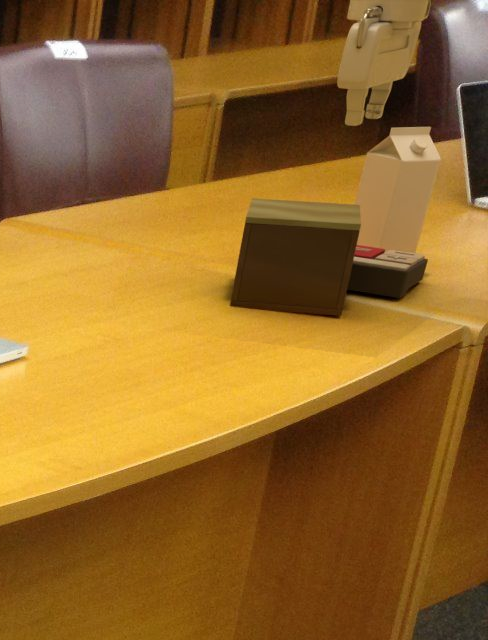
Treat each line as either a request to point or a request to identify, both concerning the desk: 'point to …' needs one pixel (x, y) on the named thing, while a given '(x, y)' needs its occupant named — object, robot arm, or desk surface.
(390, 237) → the milk carton
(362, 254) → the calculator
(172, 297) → the desk surface
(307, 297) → the chest
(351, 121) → the robot arm
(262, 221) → the lid
